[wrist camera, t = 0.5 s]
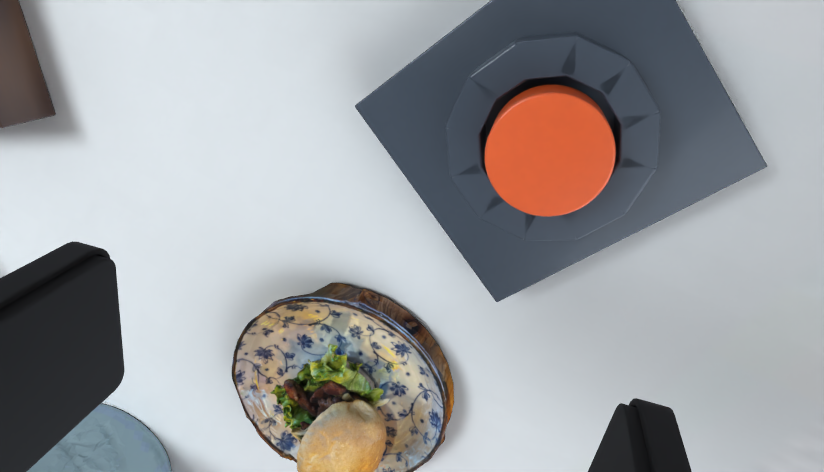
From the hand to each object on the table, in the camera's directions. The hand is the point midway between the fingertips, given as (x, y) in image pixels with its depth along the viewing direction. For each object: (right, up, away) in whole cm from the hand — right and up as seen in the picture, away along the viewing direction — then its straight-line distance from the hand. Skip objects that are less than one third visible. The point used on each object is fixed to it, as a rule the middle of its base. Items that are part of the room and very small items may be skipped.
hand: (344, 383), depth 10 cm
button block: (+7, +7, +12) cm, 15 cm away
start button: (+6, +6, +9) cm, 12 cm away
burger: (-2, -5, +20) cm, 21 cm away
